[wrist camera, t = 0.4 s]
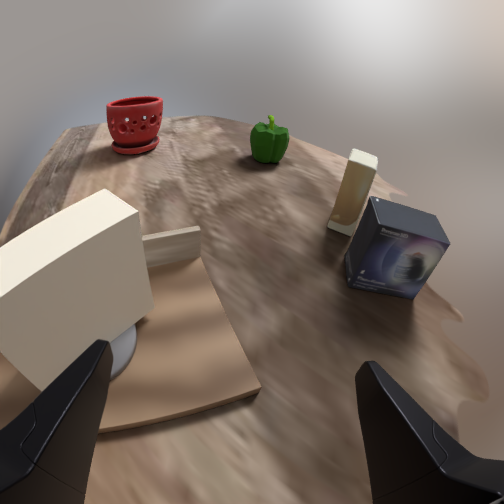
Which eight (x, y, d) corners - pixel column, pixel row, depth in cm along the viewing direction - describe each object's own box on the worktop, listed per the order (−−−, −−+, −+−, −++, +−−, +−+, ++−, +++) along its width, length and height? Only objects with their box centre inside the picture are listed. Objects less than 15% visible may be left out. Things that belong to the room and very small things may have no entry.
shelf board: (259, 392, 24) (269, 367, 20) (-8, 439, 13) (-42, 419, 10) (198, 260, 36) (198, 224, 32) (-2, 301, 25) (-20, 271, 21)
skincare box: (333, 210, 49) (352, 146, 41) (356, 219, 48) (378, 156, 40) (325, 228, 44) (347, 158, 36) (351, 238, 43) (377, 169, 35)
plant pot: (172, 148, 62) (173, 99, 54) (119, 163, 54) (115, 109, 46) (149, 135, 68) (149, 92, 60) (103, 147, 61) (99, 101, 53)
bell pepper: (281, 170, 58) (290, 126, 52) (243, 162, 59) (249, 118, 53) (287, 157, 65) (294, 117, 58) (252, 150, 66) (258, 110, 59)
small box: (346, 290, 35) (378, 222, 28) (343, 256, 40) (367, 193, 33) (414, 302, 34) (453, 243, 28) (405, 269, 39) (435, 213, 33)
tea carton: (173, 328, 26) (160, 225, 18) (65, 419, 17) (-19, 348, 9) (114, 275, 30) (92, 179, 22) (19, 344, 21) (-40, 257, 13)
